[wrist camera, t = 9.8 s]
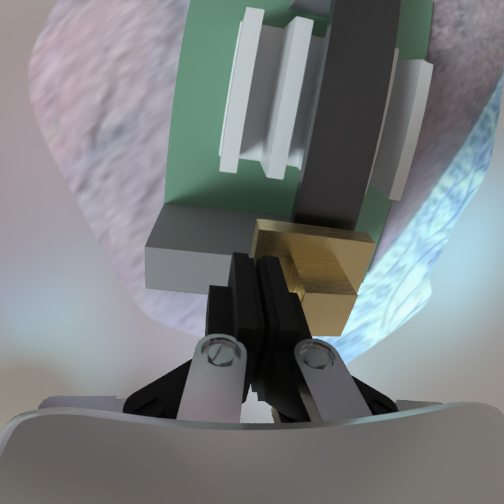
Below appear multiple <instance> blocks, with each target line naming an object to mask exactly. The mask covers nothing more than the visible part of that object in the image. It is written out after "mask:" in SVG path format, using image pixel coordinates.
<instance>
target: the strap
mask: <svg viewBox="0 0 504 504" xmlns="http://www.w3.org/2000/svg"><path fill="white" fill-rule="evenodd" d="M400 4H401V0H331V6H330V13H329V19H328V25H327V31H326V37H325V43H324V49H323V55H322V60H321V66H320V72H319V77H318V83H317V88H316V94H315V99H314V105H313V110H312V115H311V120H310V126H309V131H308V136H307V141H306V146H305V151H304V156H303V161H302V166H301V171H300V176H299V180H298V185H297V190H296V195H295V200H294V204H293V209H292V214H291V218H290V223H297V224H305V225H313V226H320V227H328V228H335V229H342V230H349V231H355V227H356V224H357V221H358V217H359V214H360V210H361V206H362V203H363V199H364V195H365V192H366V188H367V184H368V180H369V176H370V172H371V168H372V164H373V160H374V156H375V152H376V147H377V143H378V138H379V134H380V129H381V125H382V120H383V115H384V110H385V105H386V100H387V94H388V89H389V83H390V78H391V72H392V66H393V59H394V53H395V46H396V38H397V31H398V23H399V14H400Z"/></svg>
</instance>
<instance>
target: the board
mask: <svg viewBox="0 0 504 504" xmlns="http://www.w3.org/2000/svg"><path fill="white" fill-rule="evenodd" d="M330 6H331V0H191V1H190V5H189V10H188V15H187V20H186V25H185V31H184V36H183V42H182V47H181V53H180V60H179V66H178V72H177V79H176V86H175V94H174V101H173V110H172V118H171V127H170V137H169V147H168V158H167V170H166V184H165V200H164V205H163V207H162V210H161V212H160V214H159V216H158V218H157V220H156V223H155V225H154V227H153V229H152V232H151V234H150V236H149V238H148V241H147V243H146V245H145V283H146V288H148V289H157V290H166V291H176V292H185V293H195V294H206V295H208V292H209V285H217V286H227V285H228V278H229V272H230V266H231V259H232V254H233V252H239V253H248V256H249V258H250V252H251V247H252V241H253V236H254V230H255V225H256V219H265V220H273V221H282V222H290V218H291V214H292V209H293V204H294V200H295V195H296V190H297V185H298V180H299V176H300V171H301V166H302V161H303V156H304V151H305V146H306V141H307V136H308V131H309V126H310V120H311V115H312V110H313V105H314V99H315V94H316V88H317V83H318V77H319V72H320V66H321V60H322V55H323V49H324V43H325V37H326V31H327V25H328V19H329V13H330ZM432 9H433V3H432V2H430V1H429V0H401V4H400V14H399V23H398V31H397V38H396V46H395V53H394V59H393V66H392V72H391V78H390V83H389V89H388V94H387V100H386V105H385V110H384V115H383V120H382V125H381V129H380V134H379V138H378V143H377V147H376V152H375V156H374V160H373V164H372V168H371V172H370V176H369V180H368V184H367V188H366V192H365V195H364V199H363V203H362V206H361V210H360V214H359V217H358V221H357V224H356V227H355V231H356V232H363V233H367V234H368V235H369V236H370V237H371V238H372V240H373V241H374V242H375V243H376V245H375V248H374V250H373V253H372V256H371V259H370V261H369V264H368V267H367V269H366V272H365V275H364V277H363V280H362V282H361V283H363V281H364V279H365V276H366V273H367V271H368V268H369V266H370V263H371V260H372V258H373V255H374V252H375V249H376V247H377V244H378V241H379V238H380V235H381V233H382V230H383V227H384V224H385V221H386V218H387V215H388V212H389V209H390V205H391V202H392V200H396V201H400V200H401V197H402V194H403V191H404V188H405V184H406V181H407V178H408V174H409V171H410V167H411V164H412V160H413V156H414V153H415V149H416V145H417V141H418V137H419V133H420V129H421V125H422V121H423V116H424V112H425V107H426V102H427V98H428V93H429V88H430V82H431V77H432V71H433V64H431V63H429V62H426V56H427V50H428V43H429V35H430V28H431V19H432Z"/></svg>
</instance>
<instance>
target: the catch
mask: <svg viewBox="0 0 504 504" xmlns="http://www.w3.org/2000/svg"><path fill="white" fill-rule="evenodd" d="M375 245H376V243H375V242H374V241H373V240H372V238H371V237H370V236H369V235H368V234H367V233H363V232H356V231H349V230H342V229H335V228H328V227H320V226H313V225H305V224H297V223H290V222H282V221H273V220H265V219H256V225H255V230H254V236H253V241H252V247H251V252H250V258H254V264H255V265H256V261H257V258H259V259H262V257H263V255H267V256H277V257H279V260H280V263H281V267H282V270H283V273H284V277H285V280H286V283H287V287H288V290H289V292H296V293H297V294H298V296H299V298H300V302H301V305H302V308H303V311H304V314H305V317H306V320H307V323H308V326H309V330H310V333H311V336H341V334H342V331H343V329H344V327H345V325H346V322H347V320H348V318H349V315H350V313H351V311H352V308H353V306H354V304H355V301H356V299H357V297H358V295H357V292H358V290H359V287H360V285H361V282H362V280H363V277H364V275H365V272H366V269H367V267H368V264H369V261H370V259H371V256H372V253H373V250H374V248H375Z"/></svg>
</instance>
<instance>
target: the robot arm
mask: <svg viewBox="0 0 504 504" xmlns="http://www.w3.org/2000/svg"><path fill="white" fill-rule="evenodd" d="M250 384H251V388H252V392H257V395H258V401H265V402H266V403H268V404H269V405H271V406H272V409H271V411H272V417H273V420H274V422H275V423H267V424H266V423H262V424H261V423H258V424H256V423H253V424H252V423H240V415H241V406H242V403H244V402H245V401H246V397H247V394H248V391H249V387H250ZM0 504H504V414H503V413H502V412H501V411H500V410H498V409H497V408H496V407H493V406H491V405H487V404H484V403H479V402H454V403H446V404H443V403H439V402H422V401H407V400H396V401H395V403H394V402H393V401H392V400H391V399H390V398H388V397H387V396H385V395H383V394H382V393H380V392H379V391H377V390H375V389H373V388H372V387H370V386H368V385H367V384H365V383H363V382H362V381H360V380H358V379H357V378H355V377H353V376H352V375H350V373H349V371H348V369H347V368H346V366H345V364H344V362H343V360H342V359H341V357H340V355H339V353H338V352H337V350H336V349H335V348H334V347H333V346H332V345H330V344H329V343H327V342H325V341H323V340H319V339H312V336H311V333H310V330H309V326H308V323H307V320H306V317H305V314H304V311H303V308H302V305H301V302H300V298H299V296H298V294H297V293H296V292H289V290H288V287H287V283H286V280H285V277H284V273H283V270H282V267H281V263H280V260H279V257H277V256H267V255H263V257H262V259H259V258H257V261H256V265H255V264H254V258H249V256H248V253H239V252H233V254H232V259H231V266H230V272H229V278H228V285H227V286H217V285H209V292H208V301H207V312H206V328H205V337H203V338H202V339H201V340H200V341H199V342H198V344H197V346H196V348H195V352H194V355H193V358H192V359H191V360H189V361H187V362H186V363H184V364H183V365H181V366H179V367H178V368H176V369H174V370H173V371H171V372H169V373H167V374H166V375H164V376H162V377H161V378H159V379H157V380H156V381H154V382H152V383H150V384H149V385H147V386H145V387H143V388H142V389H140V390H138V391H136V392H135V393H133V394H132V395H131V396H129V397H128V398H127V399H117V398H116V396H52V397H48V398H47V399H45V400H43V401H42V403H41V404H40V405H39V407H38V409H36V410H31V411H27V412H24V413H21V414H19V415H17V416H15V417H13V418H12V419H11V420H10V421H9V422H8V423H7V424H6V425H5V426H4V428H3V429H2V431H1V432H0Z"/></svg>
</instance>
